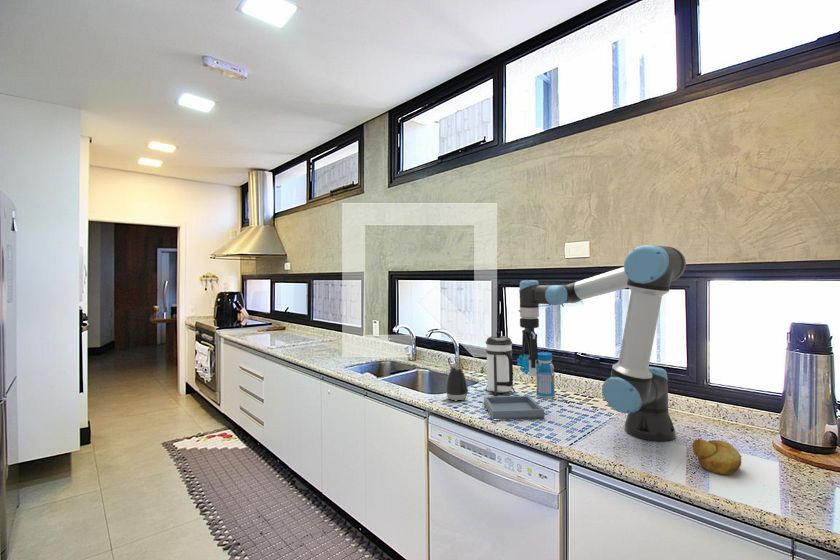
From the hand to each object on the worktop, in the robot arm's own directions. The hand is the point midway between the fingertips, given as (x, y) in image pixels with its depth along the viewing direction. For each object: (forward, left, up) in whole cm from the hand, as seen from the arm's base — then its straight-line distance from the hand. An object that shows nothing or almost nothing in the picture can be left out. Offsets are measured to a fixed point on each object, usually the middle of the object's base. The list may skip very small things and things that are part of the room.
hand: (529, 373), depth 160 cm
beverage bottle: (+23, -14, -16) cm, 31 cm away
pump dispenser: (+21, +28, -16) cm, 39 cm away
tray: (+2, +7, -16) cm, 18 cm away
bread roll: (-51, -38, -16) cm, 66 cm away
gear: (0, 0, -1) cm, 1 cm away
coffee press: (+30, +5, -16) cm, 34 cm away
